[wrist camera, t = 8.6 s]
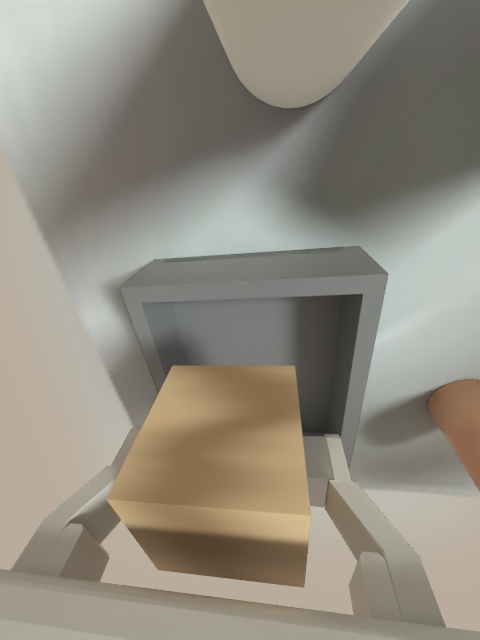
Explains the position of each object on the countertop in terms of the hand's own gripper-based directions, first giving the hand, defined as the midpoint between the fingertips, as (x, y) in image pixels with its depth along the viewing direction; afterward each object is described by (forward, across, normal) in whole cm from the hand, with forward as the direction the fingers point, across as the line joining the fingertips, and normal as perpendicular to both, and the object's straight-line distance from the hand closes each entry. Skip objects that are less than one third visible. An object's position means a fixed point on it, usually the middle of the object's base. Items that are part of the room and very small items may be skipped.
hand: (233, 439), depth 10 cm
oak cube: (+2, 0, 0) cm, 2 cm away
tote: (+11, 0, -5) cm, 12 cm away
